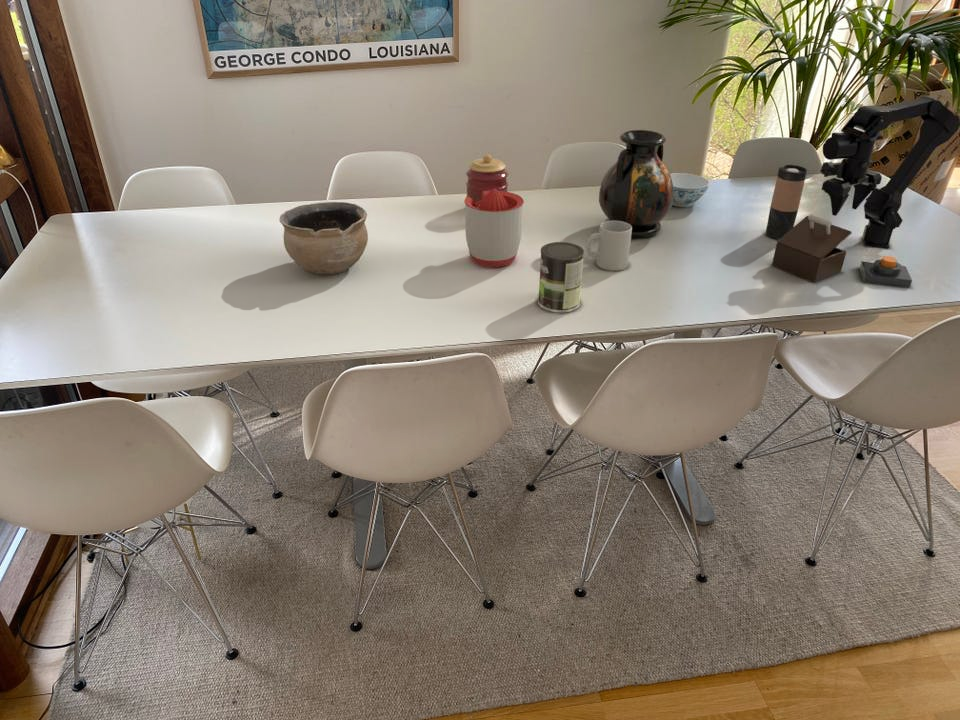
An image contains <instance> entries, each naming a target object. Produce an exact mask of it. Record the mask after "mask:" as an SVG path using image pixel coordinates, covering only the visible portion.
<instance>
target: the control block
mask: <svg viewBox="0 0 960 720" xmlns="http://www.w3.org/2000/svg"><path fill="white" fill-rule="evenodd" d="M881 260H882V258H880V259H878V258H877V259H876V260H874V261H873V262H871V261H861V262H860V265H859V273H860V275H861V278H862V282H863V283H865V284H872V285H873V284H875V285H881V286H882V285H883V286H890V287H900V288H906V289H907V288H908V289H910V288H911V286H912V282H913V279H912V277H911V274H910V272H909V270H908V268H907V266H906V265H902V264H901V263H899V262H897V263H896V266H895V267H894V268H889V267H885V266H882V265H880V263H881Z"/></svg>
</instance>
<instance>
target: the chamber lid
mask: <svg viewBox="0 0 960 720" xmlns="http://www.w3.org/2000/svg"><path fill="white" fill-rule="evenodd" d="M851 235H852V231H851V230H848V229H846V228H843V227H841V226H837V225H834V224H833V223H832V221H831V220H829V219H826V218H823V217H820V216H818V215H815V214H811V213H810V214H809V215H806V216H805V217H804V218H803V219H801V220H800V221H799V222H798V223H797V224H796V225H794V227H793V228H792V229H791V230H790V231H788V232H787V233H786V234H785V235H784V236H782V237H781V238H780V239H777V240H776V244H777V243H778V244H781V245H783V246H786V247H788V248H791V249H793V250H796V251H798V252H801V253H803V254H806V255H808V256H811V257H813V258H816V259H818V260H822V259H823V258H824V257H825V256H826V255H827V254H829V253H830V252H831V251H832V250H833V249H834V248H835V247H837V248H838V246H839V245H841V243H843V242H844V241H845V240H846V239H847V238H848V237H849V236H851Z"/></svg>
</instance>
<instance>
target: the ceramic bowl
mask: <svg viewBox="0 0 960 720" xmlns="http://www.w3.org/2000/svg"><path fill="white" fill-rule="evenodd" d="M367 216H368V213H367V211H366V210H365V209H364V208H363V206H360V205H359V204H356V203H352V202H346V201H326V202H317V203H316V202H315V203H310V204H301V205H298V206H296V207H295V206H294V207H293V208H291V209H289V210H286V211H285V212H283V213H282V214H280V216H279V219H278V221H279V223H280V225H282V227H283V245H284V249H285V251H286V252H287V254H288V256H289V257H290V258H291V259H292V260H293V261H294V262H295V263H296V264H297V265H298V266H299V267H301V268H303V269H304V270H306V271H308V272H310V273H311V274H312V273H313V274H316V275H336V274H337V275H338V274H340V273H344V272H346V271H348V270H349V269H351V268H352V267H353V266H354V265H355V264H357V262H358V261H359V260H360V259H361V257H362V256H363V254H364V252H365V250H366V247H367V246H368V240H369V234H368V228H367V226H366V225H367V224H366V220H367Z"/></svg>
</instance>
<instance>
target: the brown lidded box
mask: <svg viewBox="0 0 960 720" xmlns="http://www.w3.org/2000/svg"><path fill="white" fill-rule="evenodd" d="M775 244H776V245H775V249H774V253H773V258H772V263H771V266H772V267H776V268H777V269H780V270H783V271H784V272H786V273H790V274H792V275H794V276H796V277H799V278H801V279H804V280H807V281H809V282H811V283H814V284H815V283H818V282H821V281H823V280H826V279H828V278H831V277H833V276H835V275H838V274H841V273H842V270H843V265H844V262H845V258H846V255H847V252H848V250H845V249H842V248H839V247H838V246H837V247H835V248H834V249H833V250H832V251H831V252H830V253H829V254H827V255H826V256H825V257H824V258H823V259H822V260H818V259H816V258H813V257H811V256H808V255H806V254H803V253H801V252H798V251H796V250H793V249H791V248H788V247H786V246H783V245H781V244H778V243H777V242H776V243H775Z"/></svg>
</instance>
